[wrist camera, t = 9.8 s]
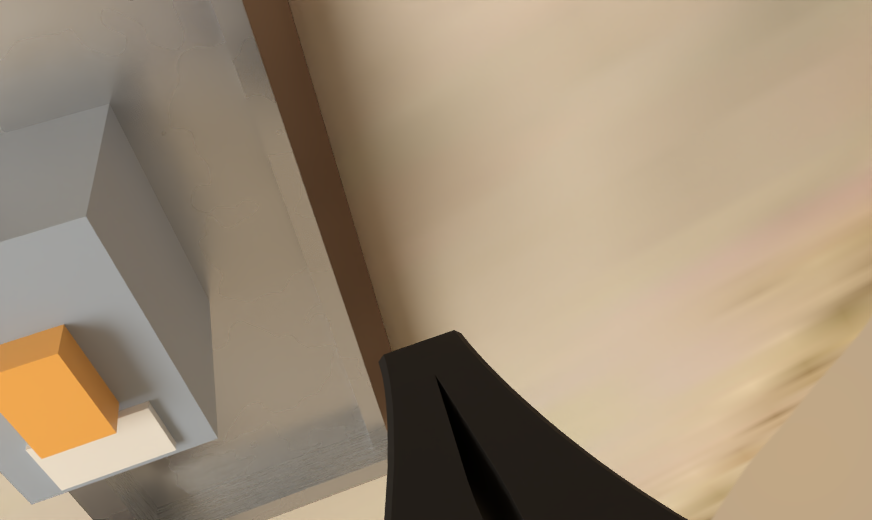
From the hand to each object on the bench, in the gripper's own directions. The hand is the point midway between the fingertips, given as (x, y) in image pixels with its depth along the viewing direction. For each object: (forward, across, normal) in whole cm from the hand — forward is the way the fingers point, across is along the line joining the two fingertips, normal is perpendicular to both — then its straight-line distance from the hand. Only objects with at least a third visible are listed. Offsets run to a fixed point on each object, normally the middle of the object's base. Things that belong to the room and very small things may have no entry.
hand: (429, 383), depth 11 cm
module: (+8, +6, 0) cm, 10 cm away
